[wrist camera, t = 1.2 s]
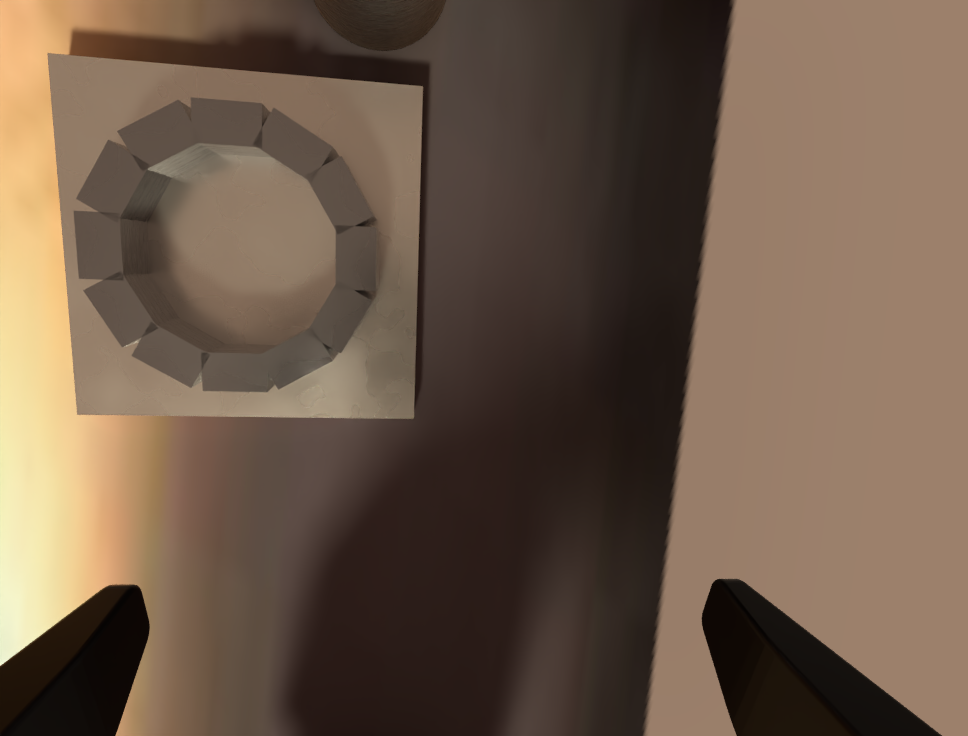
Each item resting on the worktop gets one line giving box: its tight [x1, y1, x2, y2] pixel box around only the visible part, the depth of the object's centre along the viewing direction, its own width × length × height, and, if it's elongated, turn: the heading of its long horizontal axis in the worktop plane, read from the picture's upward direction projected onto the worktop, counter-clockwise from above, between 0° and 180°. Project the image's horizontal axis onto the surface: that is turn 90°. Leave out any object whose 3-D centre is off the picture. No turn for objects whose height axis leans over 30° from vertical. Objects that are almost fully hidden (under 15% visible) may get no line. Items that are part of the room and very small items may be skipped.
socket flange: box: [48, 53, 423, 419], centre depth 18 cm, size 11×11×3 cm
